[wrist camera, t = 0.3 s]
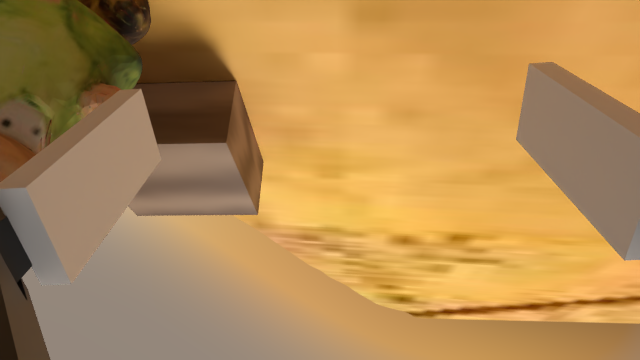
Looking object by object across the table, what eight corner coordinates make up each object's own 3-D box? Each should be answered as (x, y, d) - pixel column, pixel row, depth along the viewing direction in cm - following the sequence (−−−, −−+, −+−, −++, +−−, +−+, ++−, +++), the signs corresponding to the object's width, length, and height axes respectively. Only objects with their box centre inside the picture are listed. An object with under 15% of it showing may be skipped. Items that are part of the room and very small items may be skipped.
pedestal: (91, 85, 35) (68, 146, 32) (236, 80, 35) (226, 142, 32) (150, 163, 46) (137, 215, 43) (263, 162, 45) (257, 214, 42)
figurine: (170, -33, 26) (64, 299, 16) (156, 63, 33) (76, 337, 23) (-46, -113, 23) (-355, 251, 13) (-11, 13, 30) (-193, 313, 19)
